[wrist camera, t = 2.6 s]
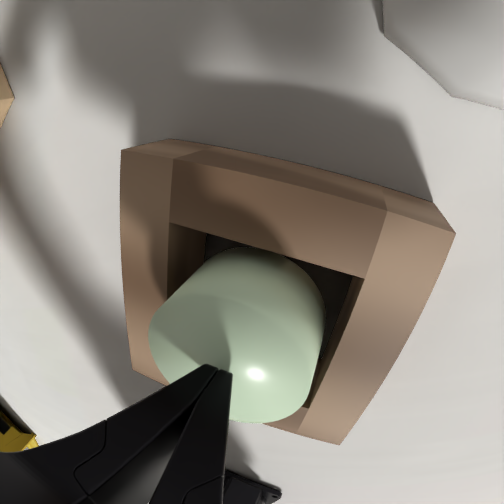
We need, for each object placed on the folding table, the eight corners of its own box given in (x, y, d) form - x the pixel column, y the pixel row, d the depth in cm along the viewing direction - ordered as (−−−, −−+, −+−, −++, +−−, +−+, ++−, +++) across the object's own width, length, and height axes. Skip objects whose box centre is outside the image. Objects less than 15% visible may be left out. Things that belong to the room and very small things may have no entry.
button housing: (347, 396, 14) (339, 445, 12) (163, 333, 16) (132, 369, 14) (433, 202, 10) (456, 233, 7) (170, 138, 12) (120, 150, 9)
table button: (305, 379, 12) (286, 439, 9) (189, 339, 13) (152, 387, 10) (345, 272, 10) (335, 331, 7) (196, 229, 11) (144, 269, 8)
